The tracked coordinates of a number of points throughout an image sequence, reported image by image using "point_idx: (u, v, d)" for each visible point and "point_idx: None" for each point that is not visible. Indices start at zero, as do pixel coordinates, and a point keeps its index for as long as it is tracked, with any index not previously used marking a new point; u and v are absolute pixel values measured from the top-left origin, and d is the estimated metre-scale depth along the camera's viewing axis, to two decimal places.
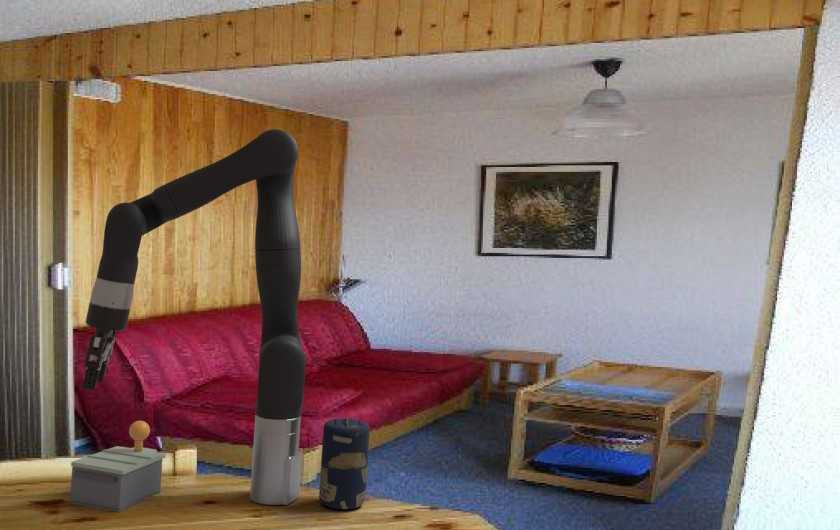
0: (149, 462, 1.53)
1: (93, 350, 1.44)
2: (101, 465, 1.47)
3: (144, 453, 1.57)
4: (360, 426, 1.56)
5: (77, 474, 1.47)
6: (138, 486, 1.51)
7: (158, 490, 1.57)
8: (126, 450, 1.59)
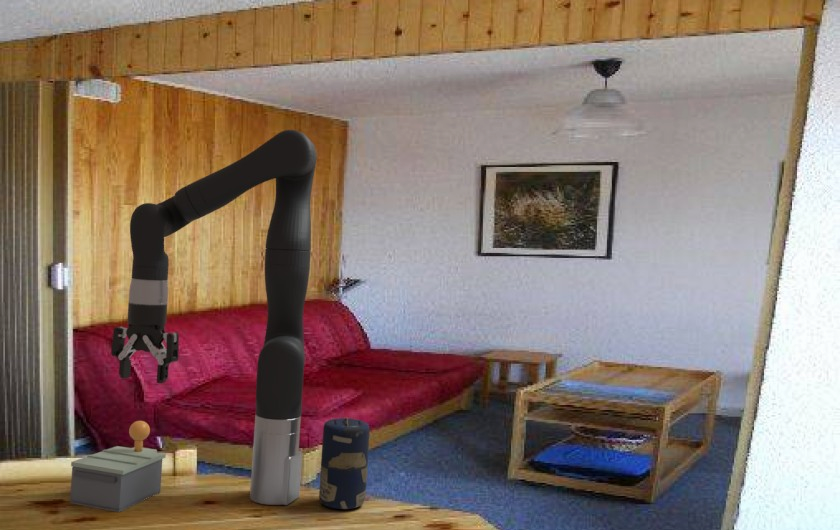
0: (149, 462, 1.53)
1: (174, 345, 1.56)
2: (101, 465, 1.47)
3: (144, 453, 1.57)
4: (360, 426, 1.56)
5: (77, 474, 1.47)
6: (138, 486, 1.51)
7: (158, 490, 1.57)
8: (126, 450, 1.59)
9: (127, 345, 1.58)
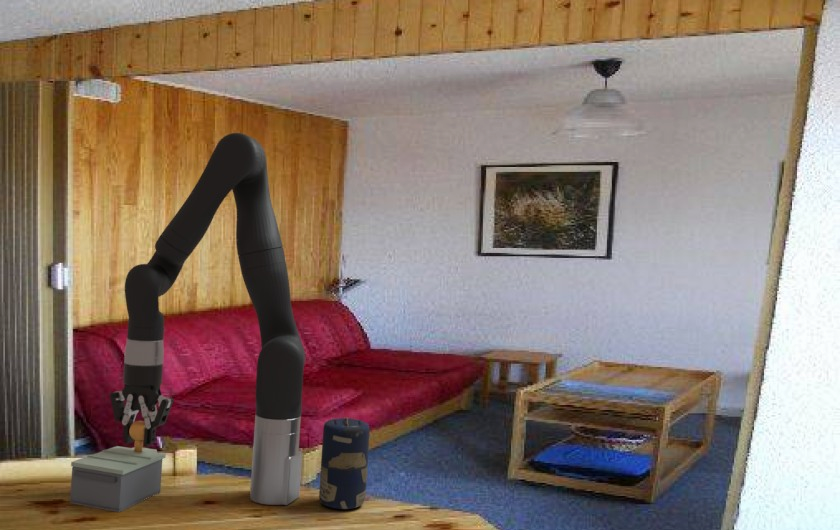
0: (149, 462, 1.53)
1: (165, 412, 1.57)
2: (101, 465, 1.47)
3: (144, 453, 1.57)
4: (360, 426, 1.56)
5: (77, 474, 1.47)
6: (138, 486, 1.51)
7: (158, 490, 1.57)
8: (126, 450, 1.59)
9: (126, 408, 1.58)
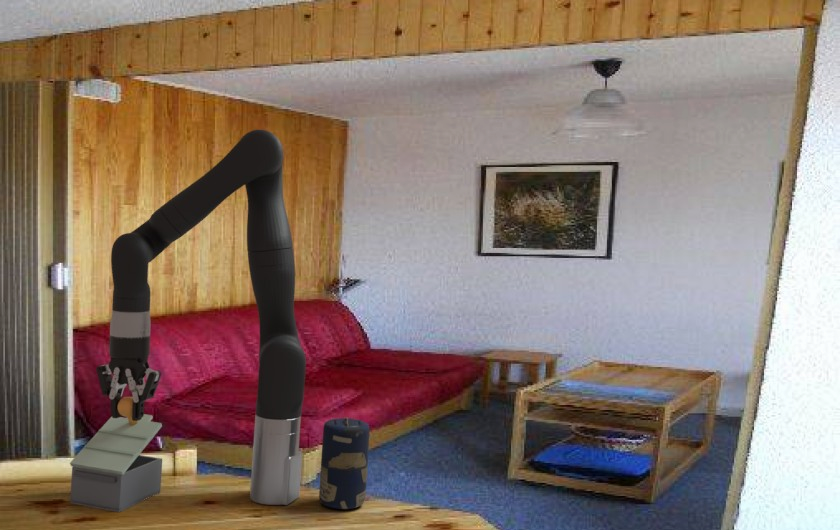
0: (146, 443, 1.52)
1: (153, 385, 1.52)
2: (99, 464, 1.47)
3: (140, 427, 1.55)
4: (360, 426, 1.56)
5: (77, 474, 1.47)
6: (138, 486, 1.51)
7: (158, 490, 1.57)
8: (121, 424, 1.56)
9: (113, 381, 1.53)
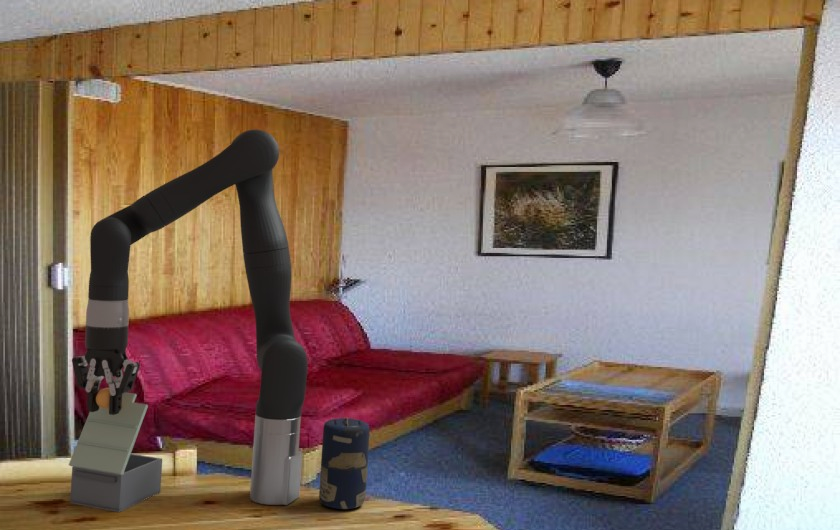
0: (137, 432, 1.48)
1: (131, 377, 1.45)
2: (97, 465, 1.46)
3: (126, 411, 1.51)
4: (360, 426, 1.56)
5: (77, 474, 1.47)
6: (138, 486, 1.51)
7: (158, 490, 1.57)
8: None
9: (89, 373, 1.46)
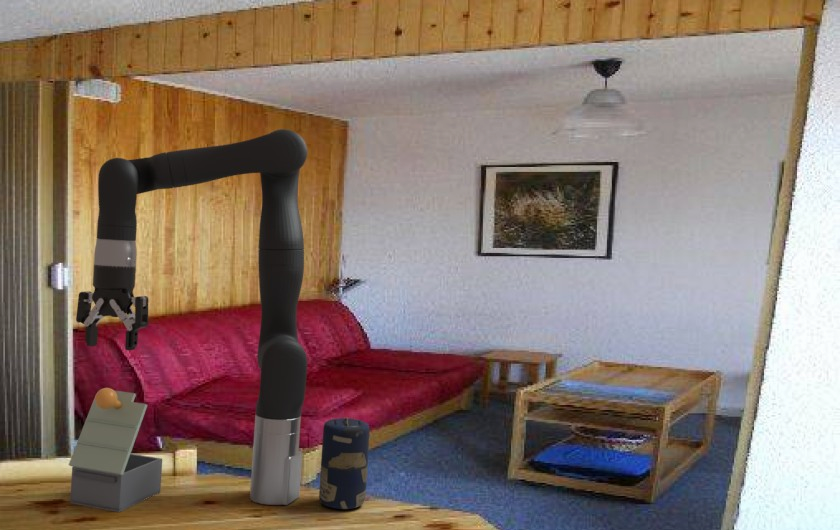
0: (137, 431, 1.48)
1: (143, 310, 1.46)
2: (97, 465, 1.46)
3: (125, 411, 1.50)
4: (360, 426, 1.56)
5: (77, 474, 1.47)
6: (138, 486, 1.51)
7: (158, 490, 1.57)
8: None
9: (93, 310, 1.48)
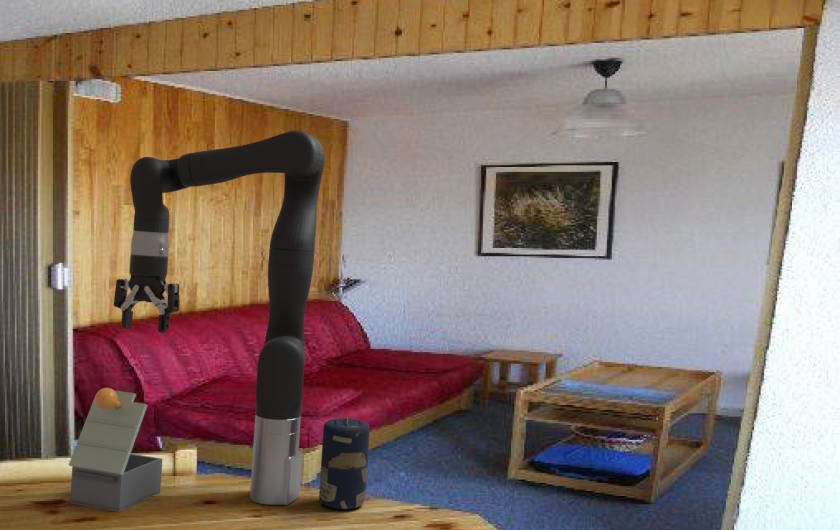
0: (137, 431, 1.48)
1: (175, 296, 1.61)
2: (97, 465, 1.46)
3: (125, 411, 1.50)
4: (360, 426, 1.56)
5: (77, 474, 1.47)
6: (138, 486, 1.51)
7: (158, 490, 1.57)
8: None
9: (129, 296, 1.62)
